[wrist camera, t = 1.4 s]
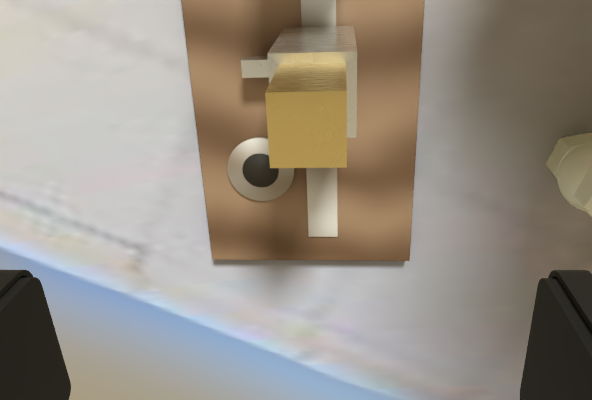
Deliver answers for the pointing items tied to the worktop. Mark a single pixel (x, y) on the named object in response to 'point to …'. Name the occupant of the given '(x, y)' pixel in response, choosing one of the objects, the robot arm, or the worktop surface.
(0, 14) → the worktop surface
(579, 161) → the valve
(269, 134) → the block
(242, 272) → the worktop surface
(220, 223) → the bolt plate
